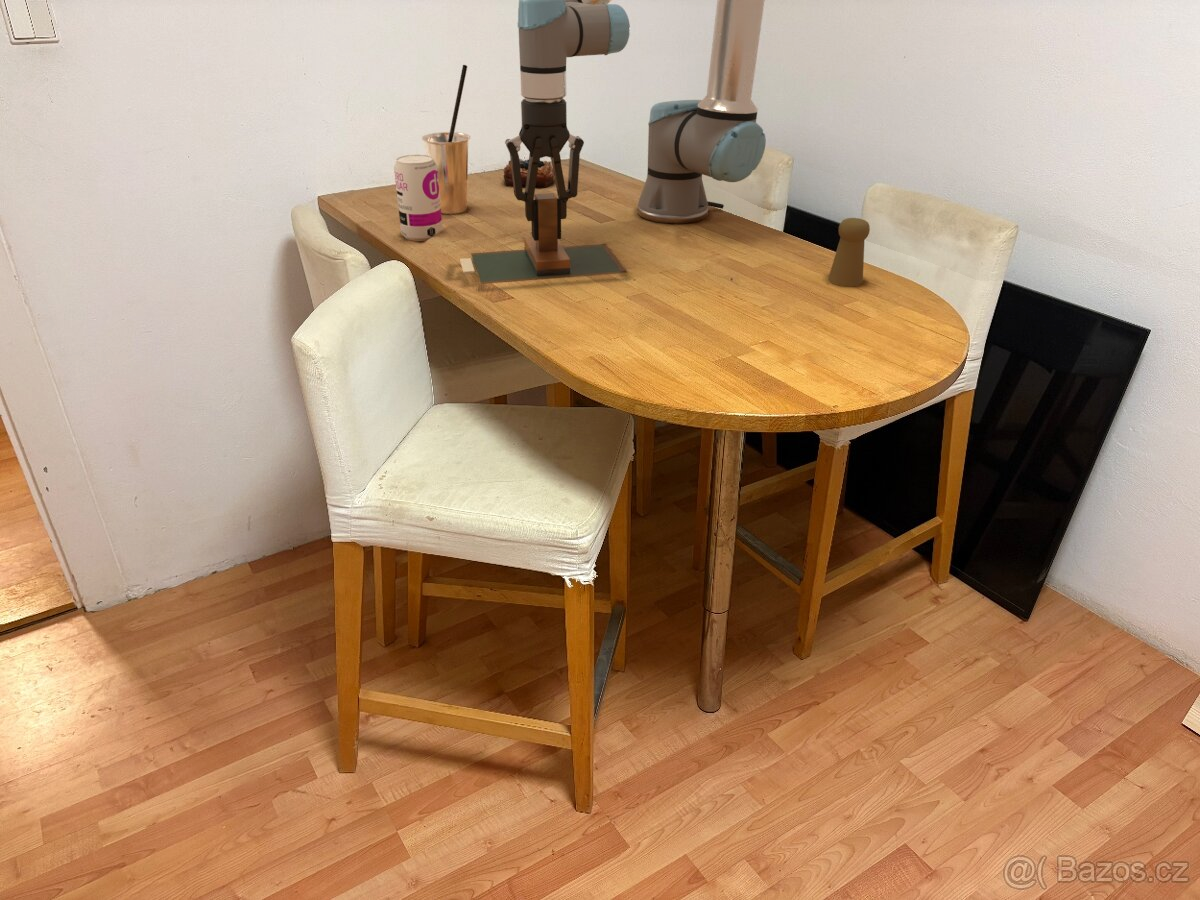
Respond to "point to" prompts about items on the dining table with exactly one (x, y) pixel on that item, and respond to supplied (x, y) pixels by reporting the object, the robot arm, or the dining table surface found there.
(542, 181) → the pastry
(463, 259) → the pale wooden block
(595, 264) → the chalkboard
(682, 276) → the dining table surface
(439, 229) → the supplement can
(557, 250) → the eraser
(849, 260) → the brown pawn
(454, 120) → the copper cup with straw
